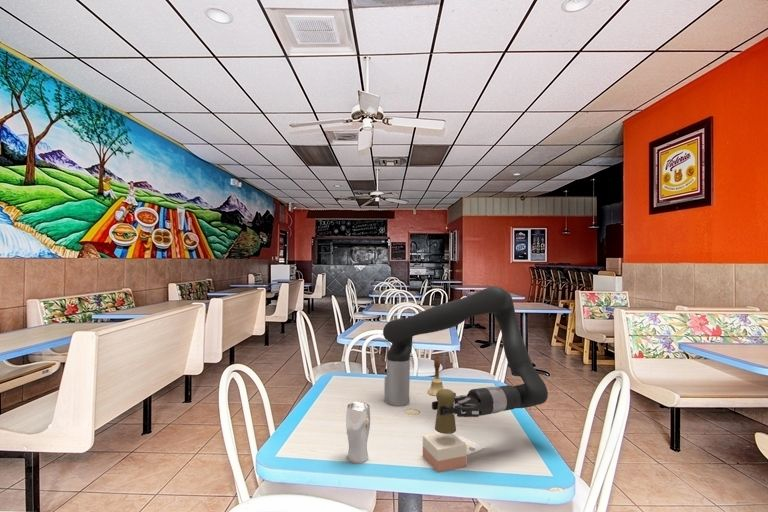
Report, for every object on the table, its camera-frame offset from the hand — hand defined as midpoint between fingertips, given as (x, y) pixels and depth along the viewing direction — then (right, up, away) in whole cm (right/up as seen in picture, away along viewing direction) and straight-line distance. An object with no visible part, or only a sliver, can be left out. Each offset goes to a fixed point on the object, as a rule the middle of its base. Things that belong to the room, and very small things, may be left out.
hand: (436, 408), depth 109 cm
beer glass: (-22, -15, +2) cm, 27 cm away
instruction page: (+10, -16, +10) cm, 21 cm away
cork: (+3, -6, +1) cm, 7 cm away
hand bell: (+8, -16, +57) cm, 60 cm away
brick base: (+2, -15, +1) cm, 16 cm away
